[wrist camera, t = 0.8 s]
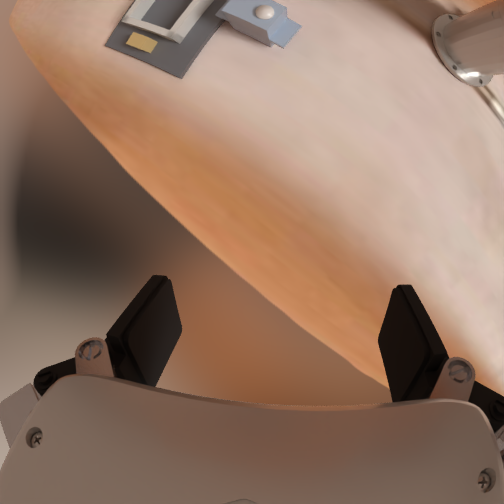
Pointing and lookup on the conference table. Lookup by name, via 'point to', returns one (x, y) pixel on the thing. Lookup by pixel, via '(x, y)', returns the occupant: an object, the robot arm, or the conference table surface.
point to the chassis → (167, 32)
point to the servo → (260, 20)
